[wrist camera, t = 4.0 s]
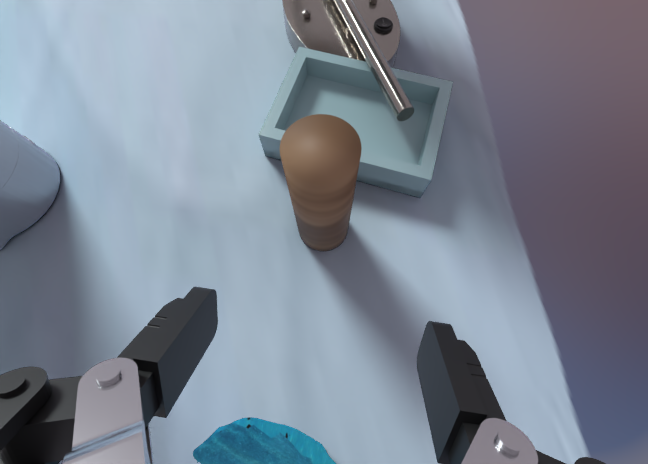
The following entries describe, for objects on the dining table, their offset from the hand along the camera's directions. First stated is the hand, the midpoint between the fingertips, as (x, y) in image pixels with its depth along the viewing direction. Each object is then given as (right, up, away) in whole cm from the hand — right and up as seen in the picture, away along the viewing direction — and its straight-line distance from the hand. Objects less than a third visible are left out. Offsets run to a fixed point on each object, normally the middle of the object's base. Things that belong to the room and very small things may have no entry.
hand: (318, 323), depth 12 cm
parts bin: (+3, +13, +17) cm, 21 cm away
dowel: (0, +4, +14) cm, 14 cm away
